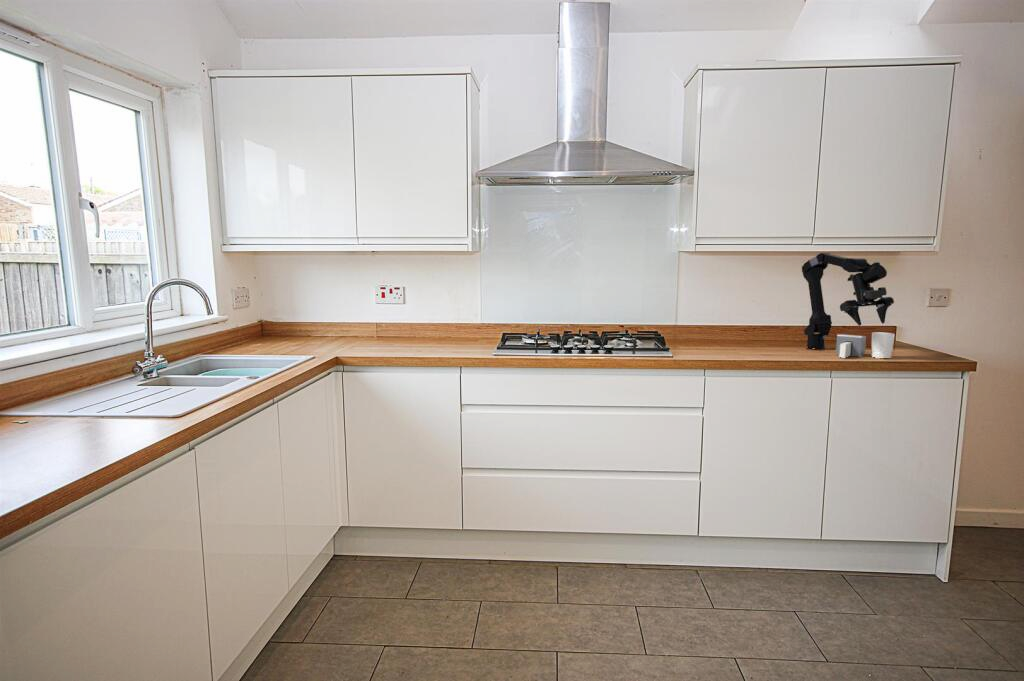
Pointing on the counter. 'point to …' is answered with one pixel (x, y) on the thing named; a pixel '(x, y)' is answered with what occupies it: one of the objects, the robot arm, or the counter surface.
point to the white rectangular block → (846, 349)
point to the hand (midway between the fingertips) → (871, 324)
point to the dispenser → (857, 345)
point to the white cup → (882, 344)
